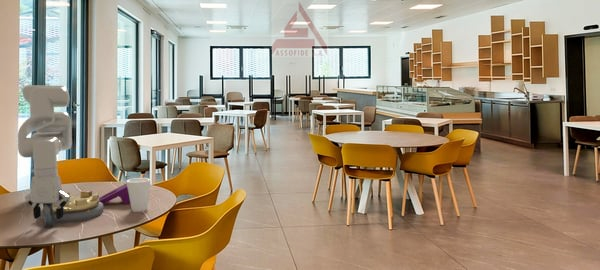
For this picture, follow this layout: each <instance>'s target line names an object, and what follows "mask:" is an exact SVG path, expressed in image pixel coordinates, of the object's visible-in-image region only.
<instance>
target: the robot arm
mask: <svg viewBox="0 0 600 270" xmlns="http://www.w3.org/2000/svg"><path fill="white" fill-rule="evenodd" d="M22 96H23V98H24V100H25V101H26V102H27V103H28V104H29V114H30V117H28V118H27V119H26V120H25V121H24V122H23V123H22V125H20V127H19V129H18V133H17V149H18V150H17V151H18V154H19V155H20V157H23V158H33V168H32V169H31V170H30V172H31V173H33V176H32V177H31V183H30V192H29V194H27V195H26V196H25V197H24V199H25V201H26V202H27V204H28V205H29V206H30V207H31V209H32V211H33V212H32V213H33V214H32V215H33V218H34V219H35V220H36V219H38V218H41V210H42V209H41V206H40V204H43V203H55V205H56V206H57V209H56V216H57V219H60V218H62V217H63V214H64V213H63V207H64V206H65V204H66V203H67V202H68V200H69V199H70V196H71V195H70V196H68V195H67V194H65V193H64V192H65V191H63V185H62V180H61V177H60V174H58V160H57V155H59V153H60V152H61V151H67V150H70V149H71V148H72V146H73V138H72V137H73V133H72V132H73V131H72V130H73V129H72V119H71V116H70V114H69V113H68V112H65V111H55V108H63V107H64V108H66V107H68V106H69V105H70V100H71V99H70V98H71V97H70V93H69V90H68V88H67V86H66V85H38V84H36V85H26V86H23V87H22ZM33 132H35V133H33ZM31 133H33V134H31ZM30 134H31V136H30V137H28V136H29V135H30ZM63 198H64V200H63V202H62V199H63Z"/></svg>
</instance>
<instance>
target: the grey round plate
mask: <svg viewBox="0 0 600 270" xmlns="http://www.w3.org/2000/svg"><path fill="white" fill-rule="evenodd" d="M103 213H104V204H103V203H101V202H99V205H98V206H97V207H95V208H93V209H90V210H86V211H81V212H75V213H64V214H63V217H62V218H60V219H57V216H56V213H53V215H54V224H60V223H61V224H62V223H63V224H64V223H66V224H67V223H75V222H81V221H86V220H91V219H93V218H97V217H98V216H101V215H102V214H103ZM96 216H97V217H96ZM40 219H41V221H42V222H44V212H43V208H42V209H41V217H40Z"/></svg>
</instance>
